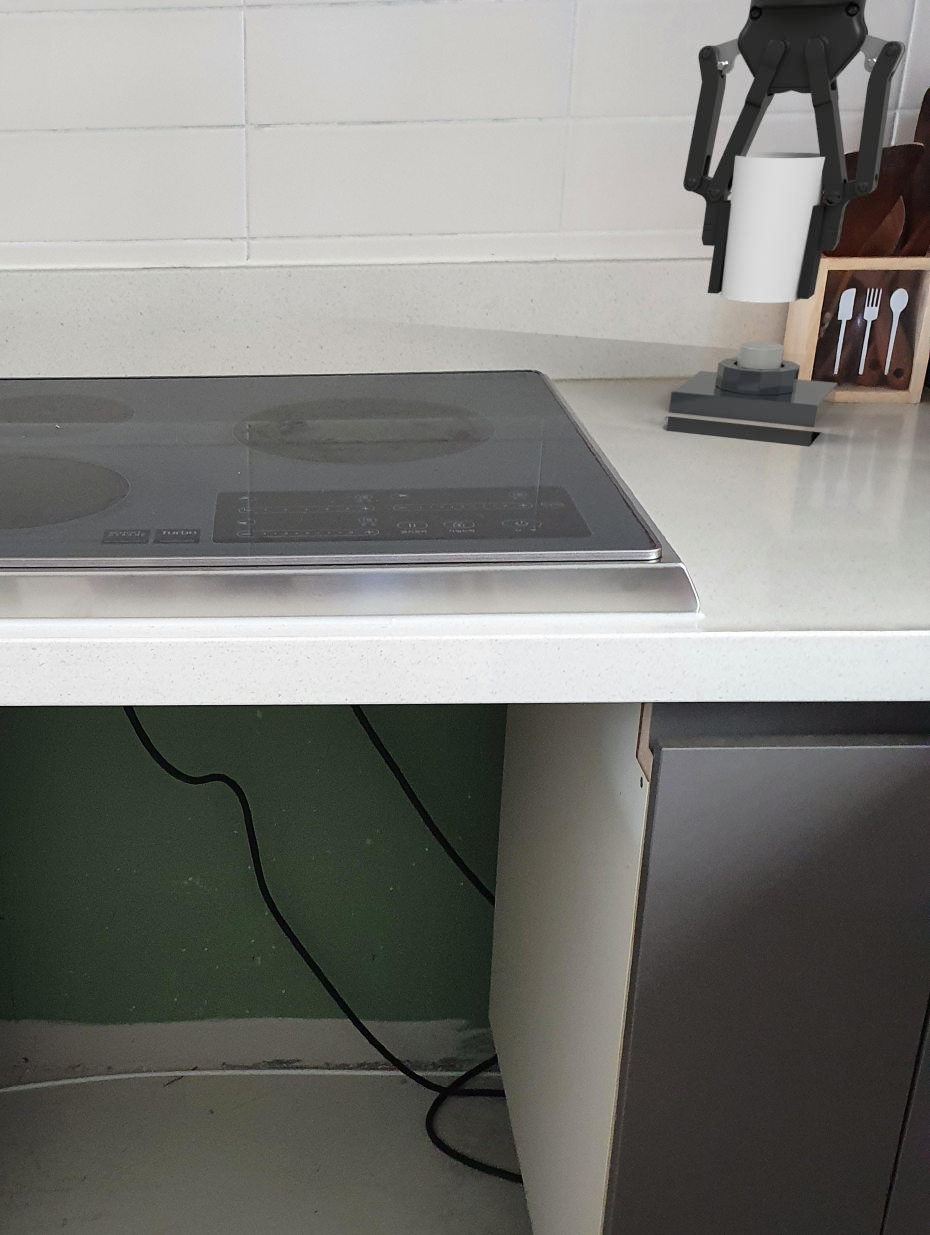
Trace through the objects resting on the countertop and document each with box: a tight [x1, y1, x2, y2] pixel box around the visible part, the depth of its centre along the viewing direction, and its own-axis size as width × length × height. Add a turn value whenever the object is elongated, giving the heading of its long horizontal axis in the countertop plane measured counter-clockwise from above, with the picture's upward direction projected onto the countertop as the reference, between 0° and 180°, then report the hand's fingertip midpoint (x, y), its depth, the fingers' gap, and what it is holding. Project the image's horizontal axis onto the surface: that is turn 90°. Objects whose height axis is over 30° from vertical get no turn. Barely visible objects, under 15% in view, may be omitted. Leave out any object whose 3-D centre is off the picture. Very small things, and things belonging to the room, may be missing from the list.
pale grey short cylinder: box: [737, 341, 785, 369], centre depth 117 cm, size 4×4×2 cm
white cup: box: [720, 151, 825, 304], centre depth 101 cm, size 7×7×10 cm
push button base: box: [665, 356, 839, 447], centre depth 119 cm, size 12×10×6 cm
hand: (760, 293), depth 103 cm, fingers closed on white cup, 6 cm apart
